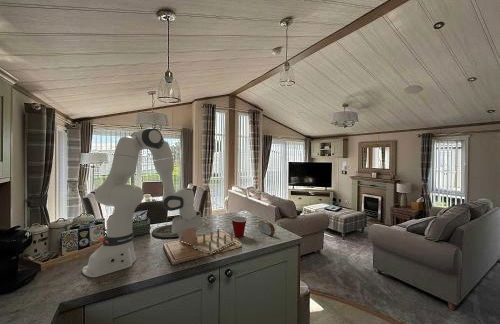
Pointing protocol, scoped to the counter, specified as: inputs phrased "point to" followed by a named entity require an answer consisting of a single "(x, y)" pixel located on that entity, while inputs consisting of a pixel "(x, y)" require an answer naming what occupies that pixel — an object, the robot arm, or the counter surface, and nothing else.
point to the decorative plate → (164, 232)
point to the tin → (266, 228)
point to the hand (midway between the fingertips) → (187, 236)
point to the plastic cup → (239, 225)
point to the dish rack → (213, 243)
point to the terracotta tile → (189, 236)
